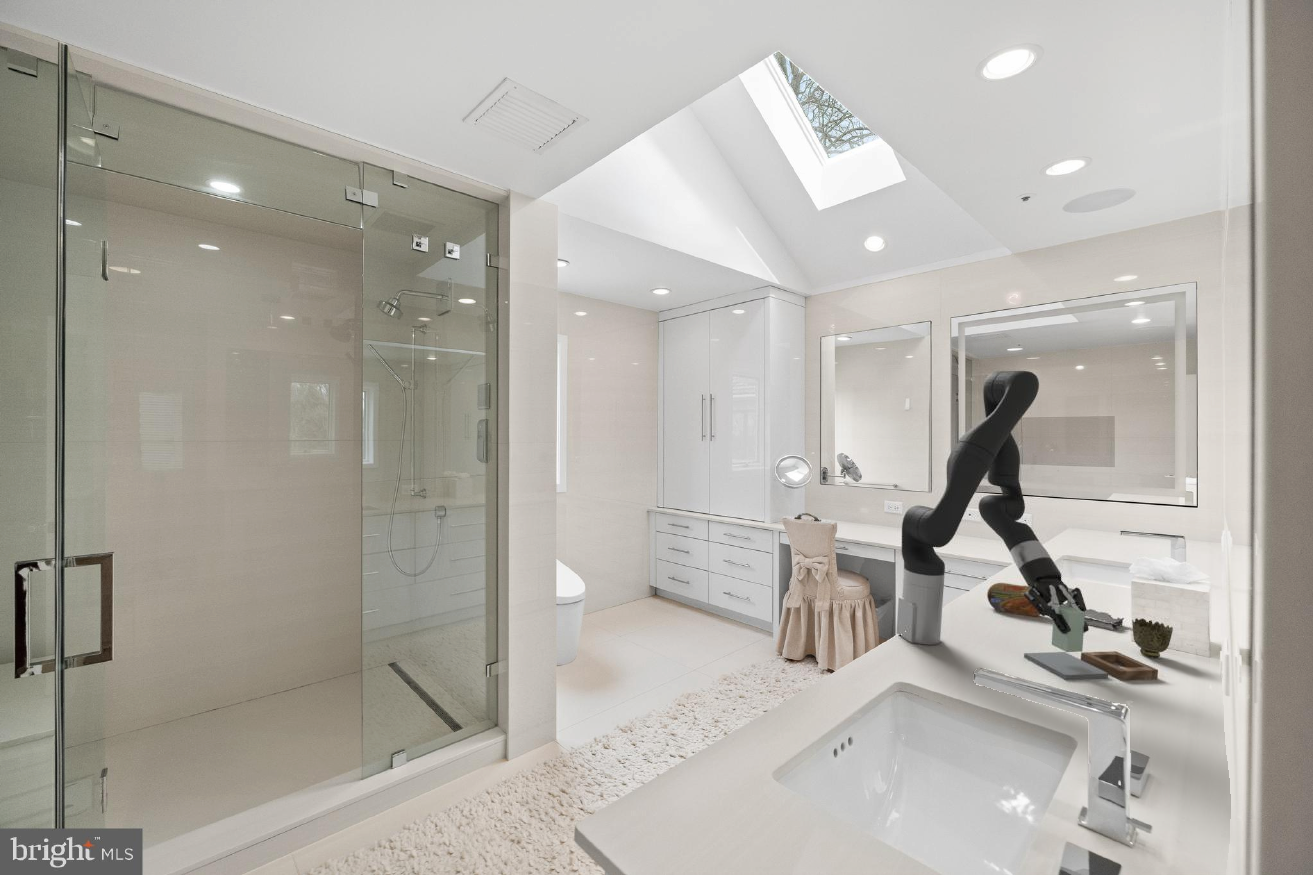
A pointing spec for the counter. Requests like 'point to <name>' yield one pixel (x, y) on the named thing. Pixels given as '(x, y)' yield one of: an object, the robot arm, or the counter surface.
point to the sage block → (1075, 636)
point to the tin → (1011, 599)
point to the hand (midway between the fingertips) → (1075, 631)
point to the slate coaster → (1065, 665)
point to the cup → (1151, 637)
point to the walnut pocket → (1132, 671)
